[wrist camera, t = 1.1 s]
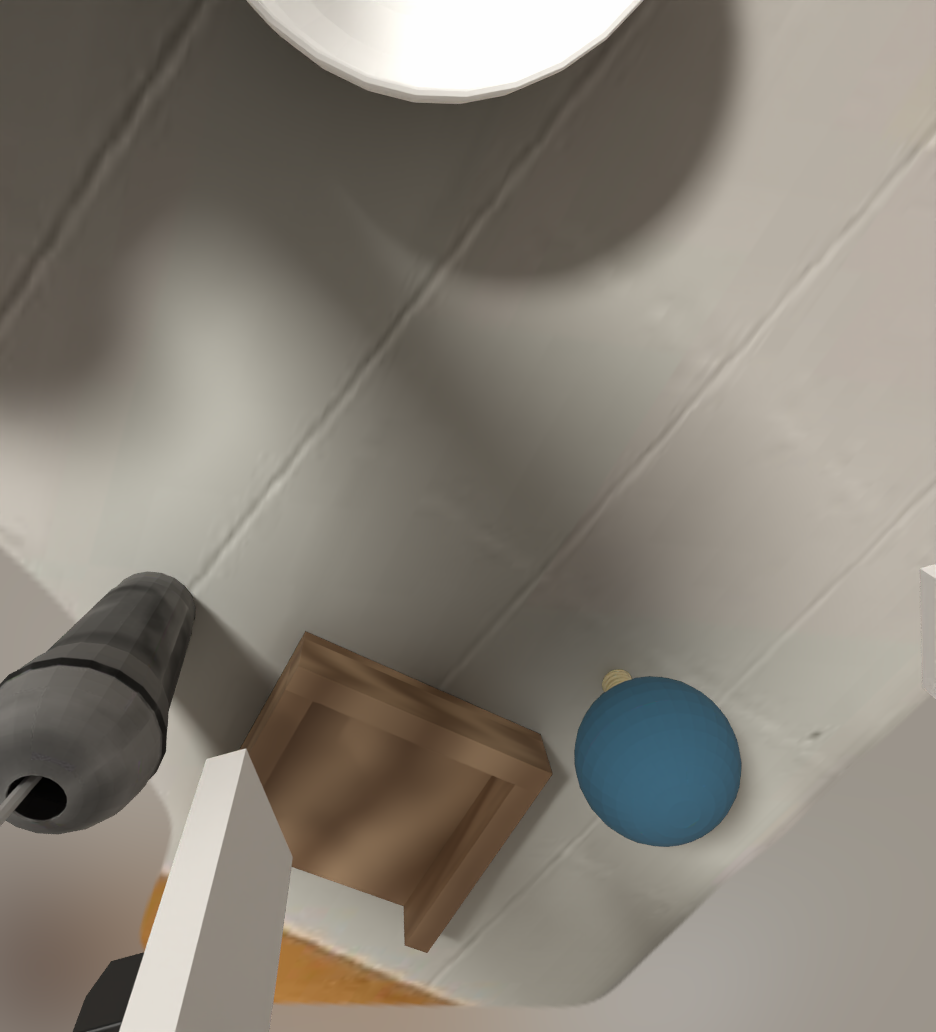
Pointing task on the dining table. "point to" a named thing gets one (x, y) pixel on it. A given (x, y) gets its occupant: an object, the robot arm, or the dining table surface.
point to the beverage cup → (94, 709)
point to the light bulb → (657, 760)
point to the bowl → (444, 41)
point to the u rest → (390, 781)
